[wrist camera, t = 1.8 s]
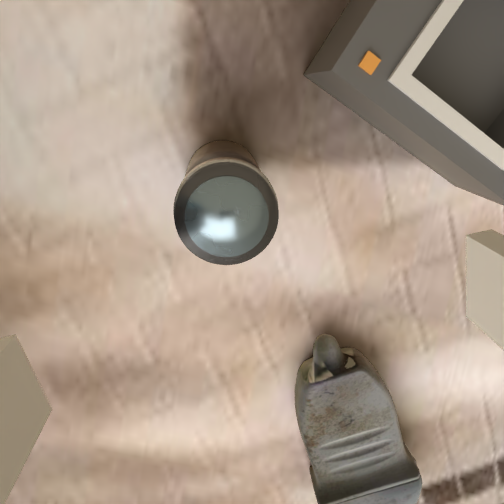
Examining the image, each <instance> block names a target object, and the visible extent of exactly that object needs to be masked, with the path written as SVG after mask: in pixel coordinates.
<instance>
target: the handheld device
mask: <svg viewBox="0 0 504 504" xmlns="http://www.w3.org/2000/svg"><path fill="white" fill-rule="evenodd" d="M295 408H296V415H297V420H298V425H299V429H300V433H301V436H302V439H303V442H304V445H305V447H306V450H307V453H308V456H309V459H310V462H311V464H312V466H310V475H311V479H312V483H313V487H314V491H315V495H316V499H317V503H318V504H416V503H417V501H418V499H419V496H420V492H421V488H422V478H421V475H420V472H419V469H418V467H417V465H416V461H415V459H414V457H412V455H411V454H410V452H409V450H408V449H407V447H406V445H405V443H404V442H403V439H402V434H401V430H400V426H399V422H398V417H397V413H396V409H395V406H394V403H393V400H392V397H391V395H390V393H389V391H388V389H387V387H386V385H385V384H384V382H383V380H382V379H381V377H380V375H379V374H378V372H377V371H376V369H375V368H374V367H373V366H372V364H371V363H370V362H369V361H368V360H367V359H366V358H365V356H364V355H363V354H362V353H361V352H359V351H358V350H357V349H354V348H350V347H346V348H341V349H340V347H339V344H338V342H337V340H336V339H335V338H334V337H333V336H331V335H329V334H321V335H319V336H318V337H317V338H316V340H315V343H314V346H313V357H312V358H310V359H308V360H306V361H305V362H303V364H302V365H301V366H300V368H299V370H298V373H297V380H296V386H295Z"/></svg>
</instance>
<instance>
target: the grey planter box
mask: <svg viewBox="0 0 504 504" xmlns="http://www.w3.org/2000/svg"><path fill="white" fill-rule="evenodd" d="M304 76H306V77H307V78H308V79H310V80H311V81H312V82H314V83H315V84H317V85H318V86H319V87H321V88H322V89H323V90H325V91H326V92H327V93H329V94H330V95H332V96H333V97H334V98H336V99H337V100H338V101H340V102H341V103H342V104H344V105H345V106H347V107H348V108H349V109H351V110H352V111H353V112H355V113H356V114H357V115H359V116H360V117H362V118H363V119H364V120H366V121H367V122H368V123H370V124H371V125H372V126H374V127H375V128H377V129H378V130H379V131H381V132H382V133H383V134H385V135H386V136H387V137H389V138H390V139H392V140H393V141H394V142H396V143H397V144H398V145H400V146H401V147H402V148H404V149H405V150H407V151H408V152H409V153H411V154H412V155H413V156H415V157H416V158H417V159H419V160H420V161H422V162H423V163H424V164H426V165H427V166H428V167H430V168H431V169H432V170H434V171H435V172H437V173H438V174H439V175H441V176H442V177H443V178H445V179H446V180H447V181H449V182H450V183H452V184H453V185H454V186H456V187H459V188H461V189H464V190H466V191H469V192H471V193H474V194H476V195H479V196H481V197H484V198H486V199H489V200H491V201H494V202H496V203H499V204H501V205H504V0H350V2H349V3H348V5H347V6H346V8H345V10H344V11H343V13H342V14H341V16H340V18H339V19H338V21H337V22H336V24H335V26H334V27H333V29H332V30H331V32H330V33H329V35H328V37H327V38H326V40H325V41H324V43H323V45H322V46H321V48H320V49H319V51H318V53H317V54H316V56H315V57H314V59H313V61H312V62H311V64H310V65H309V67H308V69H307V70H306V72H305V73H304Z"/></svg>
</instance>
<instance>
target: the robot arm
mask: <svg viewBox="0 0 504 504" xmlns="http://www.w3.org/2000/svg"><path fill="white" fill-rule="evenodd" d="M466 317H467V318H468V319H469V320H470V321H471V322H472V323H474V324H475V325H476V326H477V327H478V328H479V329H480V330H481V331H483V332H484V333H485V334H486V335H487V336H488V337H489V338H490V339H491V340H493V341H494V342H495V343H496V344H497V345H498V346H499V347H500V348H501V349H503V350H504V235H502V234H500V233H498V232H496V231H494V230H492V229H491V230H487V231H482V232H478V233H473V234H469V235H466ZM51 411H52V407H51V405H50V403H49V401H48V399H47V397H46V395H45V393H44V391H43V389H42V387H41V385H40V383H39V381H38V379H37V377H36V375H35V373H34V371H33V369H32V367H31V365H30V363H29V360H28V358H27V356H26V354H25V352H24V350H23V348H22V346H21V344H20V342H19V340H18V338H17V336H16V335H12V336H7V337H2V338H0V504H5V502H6V500H7V498H8V496H9V494H10V492H11V490H12V488H13V486H14V484H15V482H16V480H17V478H18V476H19V474H20V472H21V470H22V468H23V466H24V464H25V462H26V460H27V458H28V456H29V454H30V452H31V450H32V448H33V446H34V444H35V442H36V440H37V438H38V437H39V435H40V433H41V431H42V429H43V427H44V425H45V423H46V421H47V419H48V417H49V415H50V413H51Z"/></svg>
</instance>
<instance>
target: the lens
mask: <svg viewBox="0 0 504 504" xmlns="http://www.w3.org/2000/svg"><path fill="white" fill-rule="evenodd" d="M174 219H175V225H176V229H177V232H178V235H179V237H180V238H181V240H182V242H183V243H184V245H185V246H186V247H187V248H188V249H189V250H190V251H191V252H192V253H193V254H195V255H196V256H198V257H199V258H201V259H203V260H205V261H208V262H211V263H214V264H220V265H232V264H238V263H242V262H245V261H247V260H250V259H252V258H253V257H255V256H257V255H258V254H259V253H260V252H262V251H263V250H264V249H265V248H266V247H267V245H268V244H269V243H270V241H271V240H272V238H273V236H274V234H275V231H276V228H277V224H278V202H277V198H276V194H275V192H274V189H273V187H272V186H271V184H270V182H269V180H268V179H267V178H266V176H265V175H264V174H263V173H262V172H261V170H260V169H259V167H258V165H257V163H256V162H255V160H254V158H253V157H252V155H251V154H250V153H249V151H247V150H246V149H245V148H244V147H243V146H241V145H239V144H238V143H235V142H232V141H227V140H218V141H213V142H209V143H207V144H205V145H204V146H202V147H201V148H199V149H198V150H197V151H196V152H195V154H194V155H193V157H192V158H191V160H190V162H189V165H188V168H187V171H186V174H185V177H184V179H183V181H182V182H181V184H180V186H179V188H178V191H177V194H176V197H175V202H174Z"/></svg>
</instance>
